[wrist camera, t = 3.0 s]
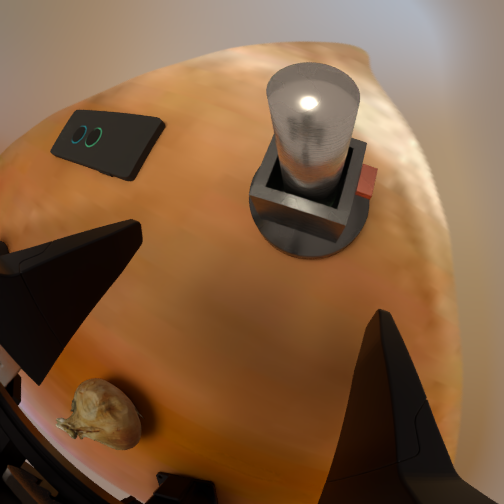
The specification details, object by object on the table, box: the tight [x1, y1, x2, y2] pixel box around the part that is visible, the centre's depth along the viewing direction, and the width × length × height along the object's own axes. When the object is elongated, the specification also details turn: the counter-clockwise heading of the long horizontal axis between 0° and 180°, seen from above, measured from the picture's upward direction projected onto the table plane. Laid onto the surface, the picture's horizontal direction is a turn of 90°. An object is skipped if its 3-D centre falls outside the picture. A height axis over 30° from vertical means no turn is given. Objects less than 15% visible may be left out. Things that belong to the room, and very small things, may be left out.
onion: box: [56, 378, 142, 450], centre depth 19 cm, size 8×8×8 cm
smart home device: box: [50, 110, 165, 181], centre depth 29 cm, size 8×2×20 cm
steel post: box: [266, 62, 360, 207], centre depth 15 cm, size 4×4×12 cm
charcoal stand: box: [249, 134, 378, 259], centre depth 19 cm, size 10×10×7 cm
